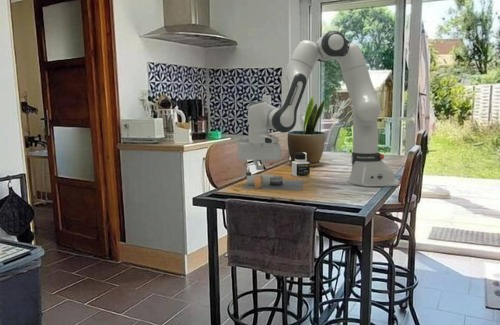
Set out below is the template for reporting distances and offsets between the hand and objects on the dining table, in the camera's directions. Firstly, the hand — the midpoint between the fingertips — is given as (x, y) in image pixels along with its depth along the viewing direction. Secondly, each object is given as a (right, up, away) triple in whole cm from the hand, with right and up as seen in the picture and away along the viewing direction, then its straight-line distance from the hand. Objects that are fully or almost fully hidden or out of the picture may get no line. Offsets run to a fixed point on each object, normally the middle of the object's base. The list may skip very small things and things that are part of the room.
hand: (259, 169), depth 189 cm
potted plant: (+28, +1, +59) cm, 65 cm away
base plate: (+7, -8, +3) cm, 11 cm away
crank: (+2, -6, +3) cm, 8 cm away
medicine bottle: (+21, -4, +28) cm, 35 cm away
